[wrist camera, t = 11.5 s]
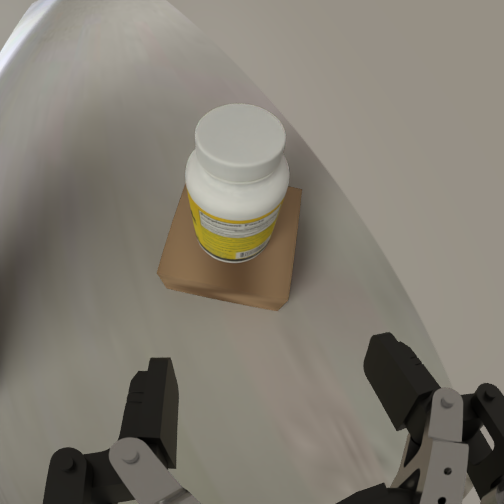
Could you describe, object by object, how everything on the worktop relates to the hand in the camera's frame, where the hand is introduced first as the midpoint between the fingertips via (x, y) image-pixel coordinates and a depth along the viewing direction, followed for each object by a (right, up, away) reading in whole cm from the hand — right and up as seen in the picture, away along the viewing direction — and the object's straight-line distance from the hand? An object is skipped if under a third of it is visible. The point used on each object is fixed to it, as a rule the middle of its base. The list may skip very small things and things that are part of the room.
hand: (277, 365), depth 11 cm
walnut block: (-3, +5, +14) cm, 15 cm away
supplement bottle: (-2, +6, +10) cm, 12 cm away
